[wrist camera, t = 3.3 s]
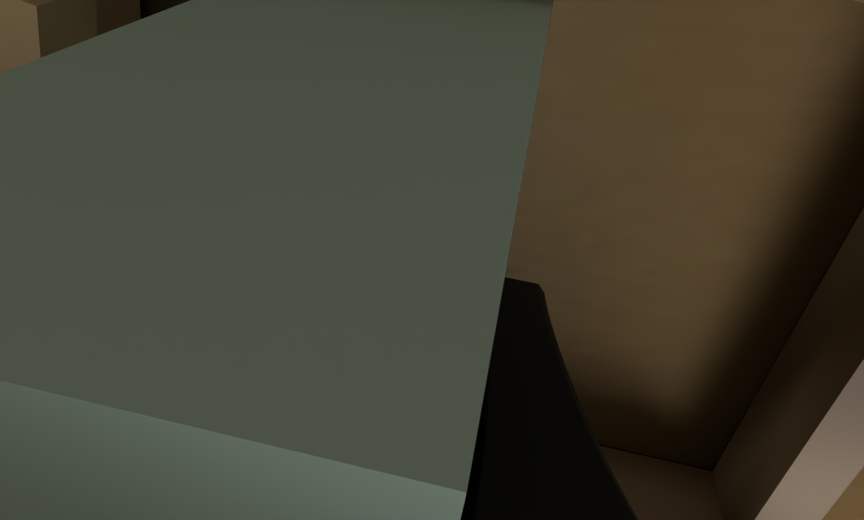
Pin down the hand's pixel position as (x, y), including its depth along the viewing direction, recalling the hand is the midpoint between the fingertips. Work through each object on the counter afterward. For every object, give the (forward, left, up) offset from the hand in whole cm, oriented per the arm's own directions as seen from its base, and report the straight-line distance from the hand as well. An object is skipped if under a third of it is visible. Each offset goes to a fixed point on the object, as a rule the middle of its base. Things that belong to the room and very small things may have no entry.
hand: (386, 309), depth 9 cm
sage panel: (0, 0, -3) cm, 3 cm away
